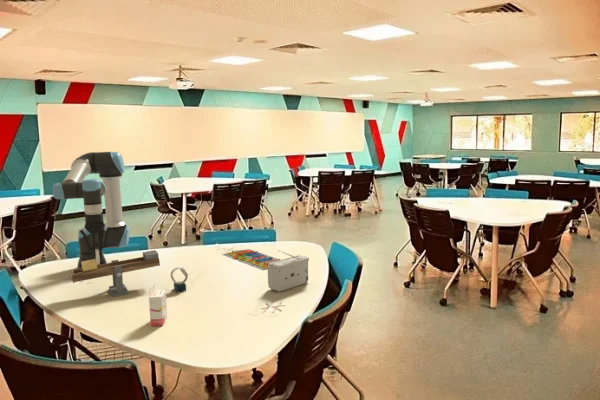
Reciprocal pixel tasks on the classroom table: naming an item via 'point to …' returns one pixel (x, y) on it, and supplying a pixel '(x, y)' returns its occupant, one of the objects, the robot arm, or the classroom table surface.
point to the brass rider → (89, 265)
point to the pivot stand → (118, 282)
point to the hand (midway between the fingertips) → (98, 263)
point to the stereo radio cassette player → (288, 272)
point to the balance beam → (127, 265)
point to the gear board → (252, 258)
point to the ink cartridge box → (157, 306)
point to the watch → (181, 285)
